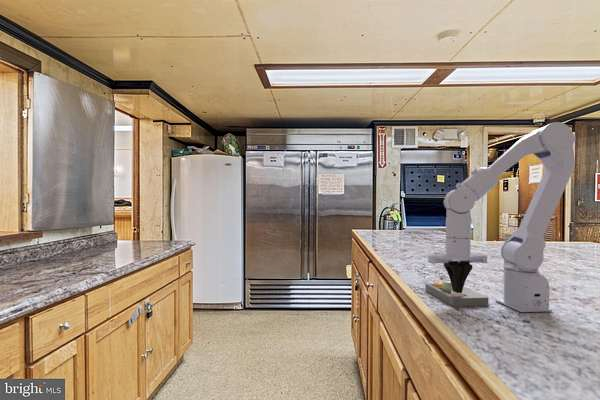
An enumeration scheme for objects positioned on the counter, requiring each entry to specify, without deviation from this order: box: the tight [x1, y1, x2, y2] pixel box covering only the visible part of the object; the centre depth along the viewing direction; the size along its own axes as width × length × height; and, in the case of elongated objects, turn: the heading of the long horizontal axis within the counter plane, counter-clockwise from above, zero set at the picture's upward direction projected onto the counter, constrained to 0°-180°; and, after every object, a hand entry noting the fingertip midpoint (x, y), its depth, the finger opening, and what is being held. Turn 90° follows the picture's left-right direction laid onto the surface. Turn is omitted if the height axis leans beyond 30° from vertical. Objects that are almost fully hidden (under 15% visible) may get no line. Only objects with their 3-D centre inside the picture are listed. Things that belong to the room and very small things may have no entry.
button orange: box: [433, 281, 442, 288], centre depth 102 cm, size 3×3×2 cm
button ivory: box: [451, 290, 464, 296], centre depth 93 cm, size 3×3×2 cm
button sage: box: [442, 280, 453, 292], centre depth 98 cm, size 3×3×2 cm
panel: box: [424, 283, 489, 308], centre depth 97 cm, size 15×9×2 cm, turn 6°
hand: (457, 291), depth 93 cm, fingers closed, pressing on button ivory
